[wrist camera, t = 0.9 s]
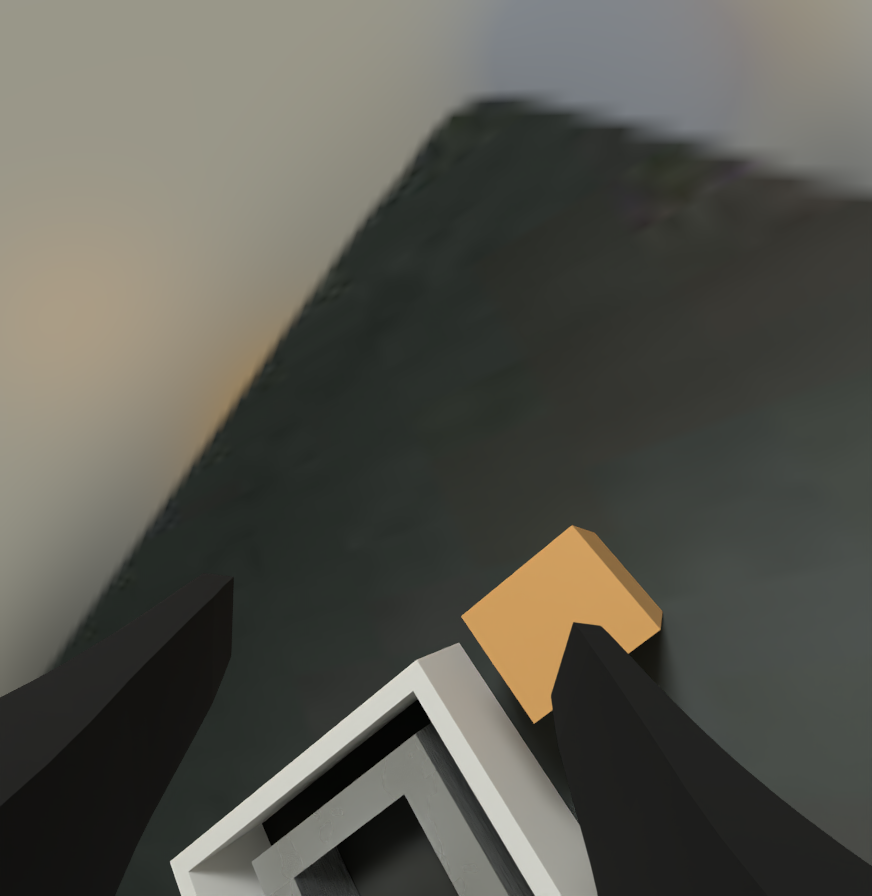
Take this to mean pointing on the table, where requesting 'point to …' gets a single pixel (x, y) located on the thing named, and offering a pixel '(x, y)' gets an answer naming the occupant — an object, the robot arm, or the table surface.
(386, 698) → the walled box
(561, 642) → the light brown rectangular block
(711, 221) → the table surface
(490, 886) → the inlet socket
